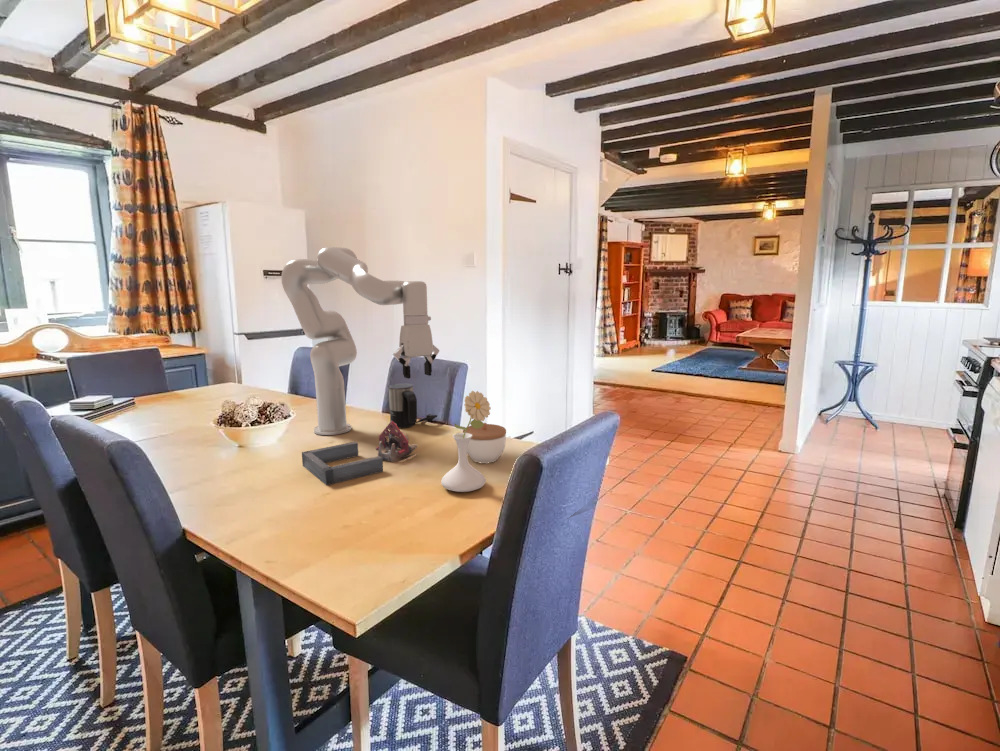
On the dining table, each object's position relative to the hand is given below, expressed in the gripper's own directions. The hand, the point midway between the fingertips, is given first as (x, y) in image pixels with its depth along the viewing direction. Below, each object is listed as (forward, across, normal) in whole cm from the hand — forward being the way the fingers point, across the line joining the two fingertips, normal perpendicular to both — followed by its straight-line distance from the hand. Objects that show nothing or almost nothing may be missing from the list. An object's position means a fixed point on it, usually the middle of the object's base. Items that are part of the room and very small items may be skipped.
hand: (417, 376), depth 173 cm
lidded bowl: (+22, -6, +28) cm, 36 cm away
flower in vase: (+22, +10, +42) cm, 48 cm away
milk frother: (+22, -8, -20) cm, 31 cm away
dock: (+22, +29, +9) cm, 37 cm away
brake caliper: (+22, +14, +9) cm, 27 cm away
